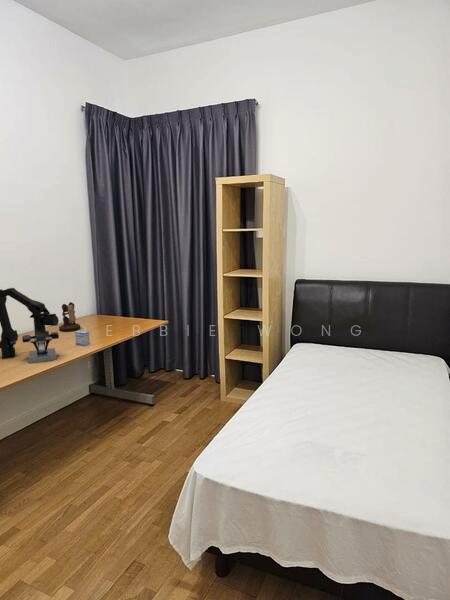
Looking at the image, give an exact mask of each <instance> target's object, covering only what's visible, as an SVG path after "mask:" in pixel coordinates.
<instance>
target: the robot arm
mask: <svg viewBox="0 0 450 600" xmlns="http://www.w3.org/2000/svg"><path fill="white" fill-rule="evenodd" d="M7 297H10V298H12V299H13V300H15V301H17V302H18V303H19V304H22V305H23V306H24V307H26V308H27V310H28V311H29V312H30V313H31V315H30V316H29V318H30V319H33V329H34V330H33V331H34V335H31V334H23V335H22V336H21V337H22V338H21V339H22V343H30V344H33V346H34V347H35V350H37V352H38V344H37V342H36V341H42V340H43V341H44V340H46V342H45V347H46V351H47V349H48V346H49V344H50V342H51V341H52V340H57V339H59V338H60V337H59V336H60V335H59V332H58V331H53V332H50V331H49V330H47V329H46V326H47V327H48V326H55V327H56V326H58V325H59V316H57V314H56V313H51V312H50V311H49V310H48V309H47V307H46V305H45V303H43V302H41V301H39V300H33V299H31V298H30V297H28V296H27V295H26V294H23V293H22V292H20V291H18V290H17V289H16V288H14V287H8V288H6V289H0V327H1V335H0V349H1V359H8V358H9V359H10V358H14V357H15V356H16V347H15V345H16V344H17V342H18V339H19V334H18V330H14V329H13V328H12V324H11V321H10V320H11V319H10V317H9V314H8V310H7V305H6V303H7ZM46 330H47V331H46Z"/></svg>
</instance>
